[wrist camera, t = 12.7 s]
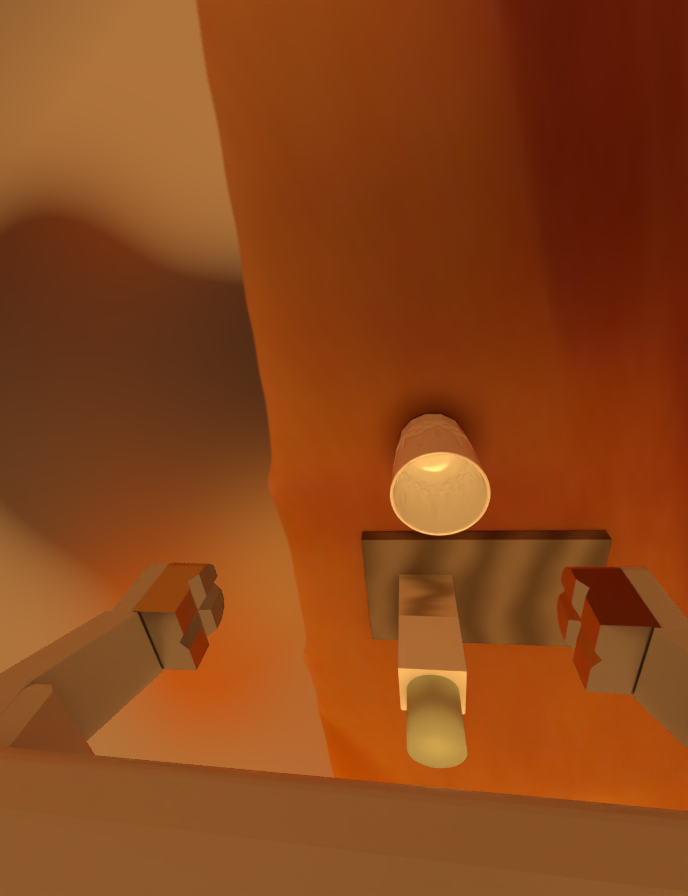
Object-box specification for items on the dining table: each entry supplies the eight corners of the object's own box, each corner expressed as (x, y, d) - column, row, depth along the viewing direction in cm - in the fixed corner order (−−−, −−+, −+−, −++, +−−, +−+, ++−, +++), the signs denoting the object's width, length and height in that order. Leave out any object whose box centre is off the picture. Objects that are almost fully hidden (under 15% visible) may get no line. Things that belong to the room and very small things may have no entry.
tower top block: (458, 617, 41) (466, 671, 36) (457, 657, 44) (465, 714, 38) (398, 615, 42) (398, 668, 37) (401, 654, 45) (401, 709, 39)
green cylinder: (459, 675, 36) (467, 735, 32) (459, 709, 38) (466, 770, 34) (405, 673, 37) (405, 730, 33) (407, 706, 39) (408, 765, 35)
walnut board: (605, 530, 43) (611, 539, 42) (583, 636, 50) (588, 647, 49) (362, 531, 47) (361, 539, 46) (372, 629, 54) (372, 639, 53)
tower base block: (451, 575, 47) (458, 617, 41) (451, 613, 49) (457, 657, 44) (399, 574, 48) (398, 615, 42) (401, 611, 50) (401, 654, 45)
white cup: (454, 394, 39) (469, 436, 30) (482, 461, 42) (504, 518, 33) (379, 425, 41) (373, 473, 33) (411, 487, 44) (413, 547, 35)
